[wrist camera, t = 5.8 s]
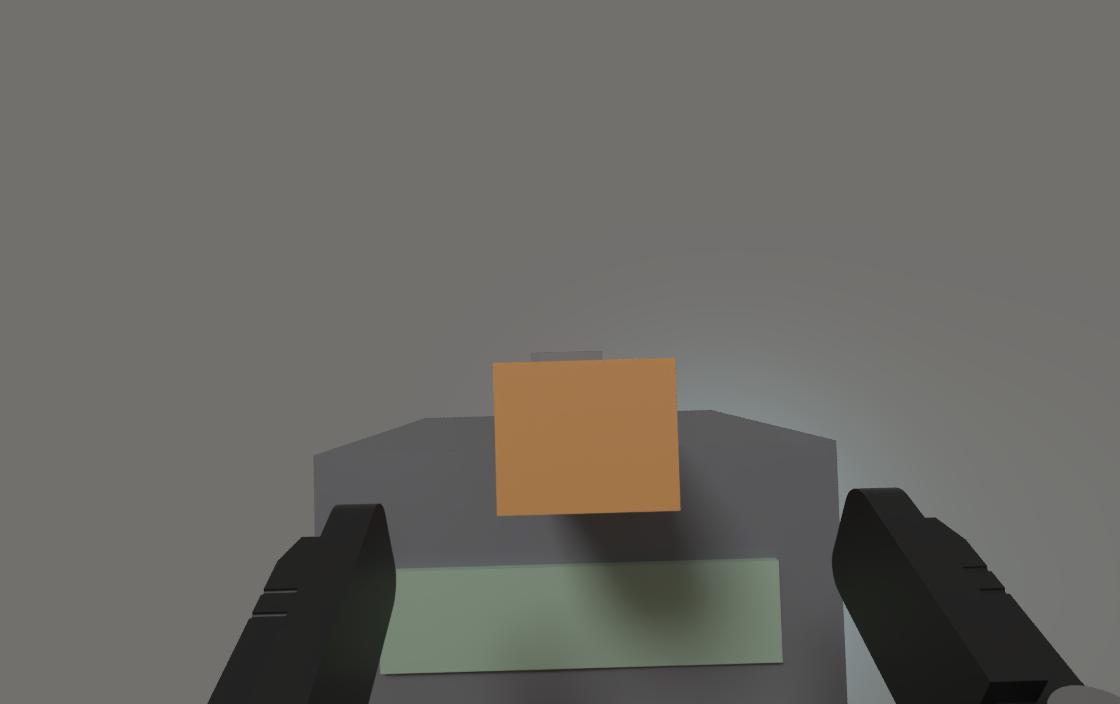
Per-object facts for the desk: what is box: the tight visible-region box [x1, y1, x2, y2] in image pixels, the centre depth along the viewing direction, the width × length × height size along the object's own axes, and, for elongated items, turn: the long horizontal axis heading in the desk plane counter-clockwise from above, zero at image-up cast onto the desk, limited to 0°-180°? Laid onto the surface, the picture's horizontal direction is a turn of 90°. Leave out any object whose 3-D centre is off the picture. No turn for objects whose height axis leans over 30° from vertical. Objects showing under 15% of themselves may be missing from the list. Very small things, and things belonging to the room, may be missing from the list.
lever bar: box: [493, 351, 681, 516], centre depth 25 cm, size 29×4×4 cm, turn 0°
